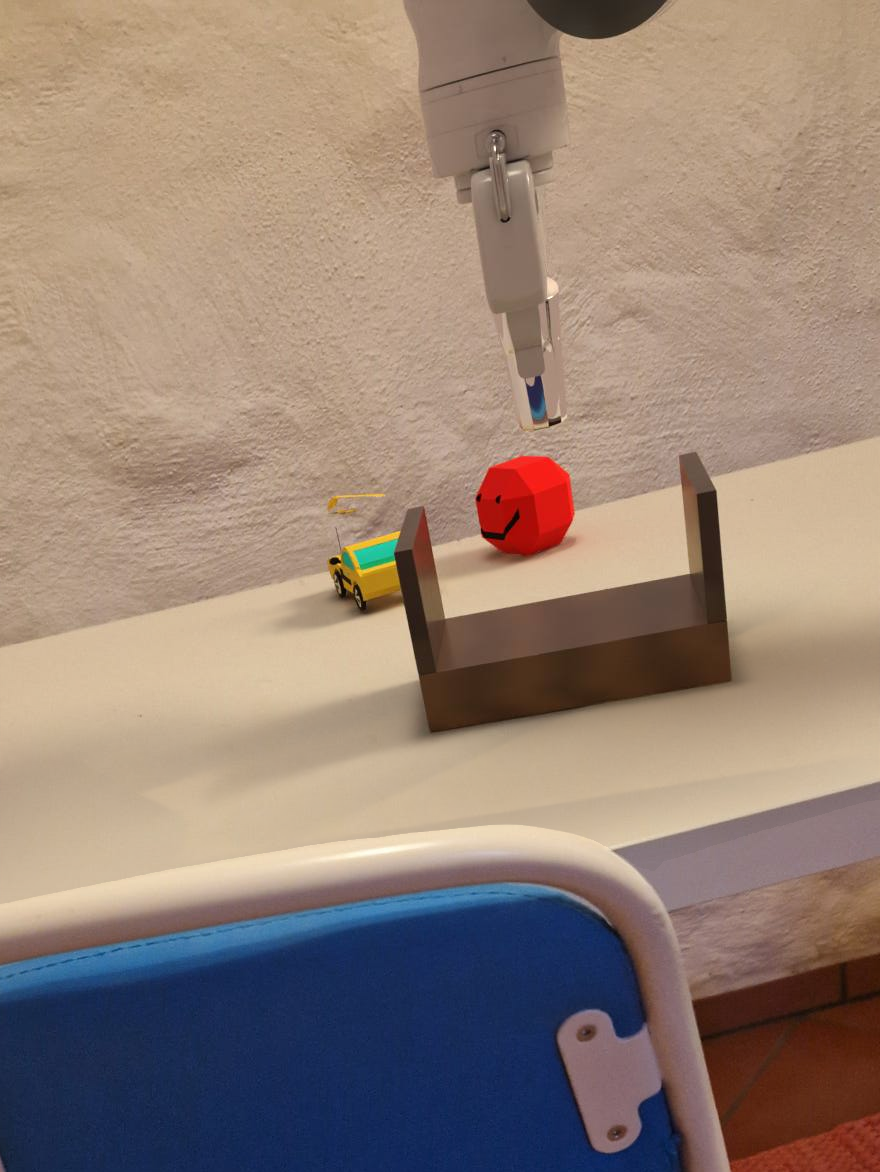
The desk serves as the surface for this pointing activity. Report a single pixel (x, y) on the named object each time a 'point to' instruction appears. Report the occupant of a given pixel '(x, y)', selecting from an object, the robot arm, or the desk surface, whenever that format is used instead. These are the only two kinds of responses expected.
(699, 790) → the desk surface
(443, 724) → the shelf
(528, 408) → the milkshake
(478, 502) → the ball
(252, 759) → the desk surface
